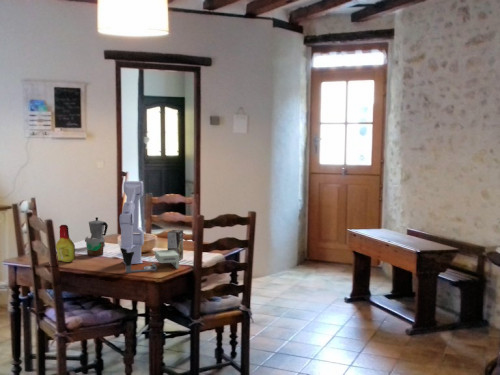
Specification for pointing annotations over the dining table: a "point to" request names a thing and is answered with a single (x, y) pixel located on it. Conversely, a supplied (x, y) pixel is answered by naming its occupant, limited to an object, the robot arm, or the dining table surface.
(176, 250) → the coffee box
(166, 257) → the low cabinet
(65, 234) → the bottle
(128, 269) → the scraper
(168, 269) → the dining table surface
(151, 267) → the steel token
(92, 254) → the food container
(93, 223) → the coffeepot
